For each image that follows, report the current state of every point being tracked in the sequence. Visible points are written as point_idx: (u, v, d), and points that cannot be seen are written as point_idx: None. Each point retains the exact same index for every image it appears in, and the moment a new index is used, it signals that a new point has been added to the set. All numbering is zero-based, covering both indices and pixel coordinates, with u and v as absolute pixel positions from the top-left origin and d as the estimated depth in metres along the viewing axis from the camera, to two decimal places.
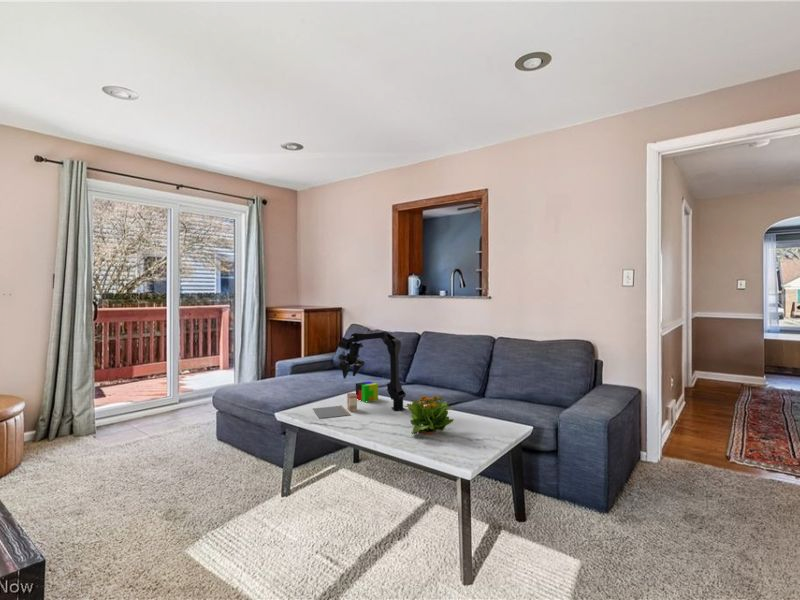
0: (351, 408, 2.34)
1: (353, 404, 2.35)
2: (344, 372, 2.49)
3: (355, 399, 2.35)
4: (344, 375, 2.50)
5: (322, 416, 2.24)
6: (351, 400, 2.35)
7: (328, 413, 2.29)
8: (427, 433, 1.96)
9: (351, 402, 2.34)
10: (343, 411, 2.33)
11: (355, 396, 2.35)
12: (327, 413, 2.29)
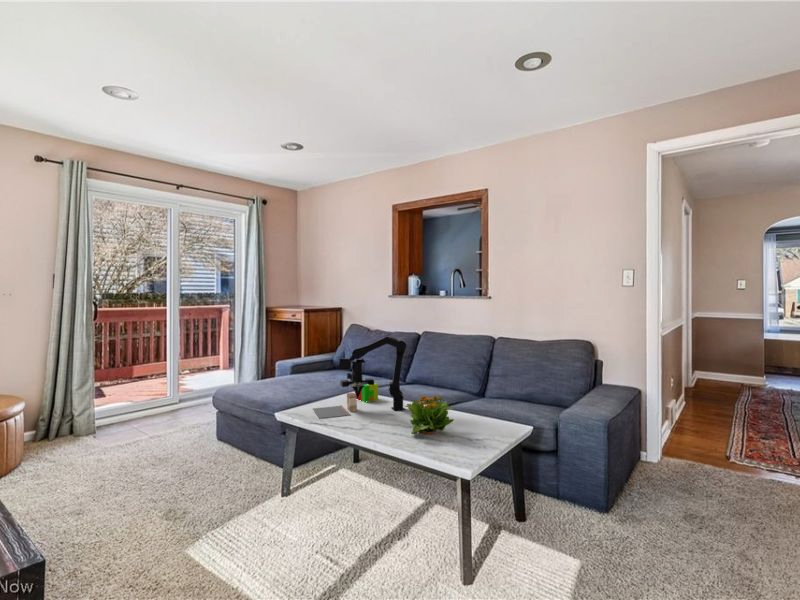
0: (351, 408, 2.34)
1: (353, 404, 2.35)
2: (355, 390, 2.38)
3: (355, 399, 2.35)
4: None
5: (322, 416, 2.24)
6: (351, 400, 2.34)
7: (328, 413, 2.29)
8: (427, 433, 1.96)
9: (351, 402, 2.34)
10: (343, 411, 2.33)
11: (355, 396, 2.35)
12: (327, 413, 2.29)
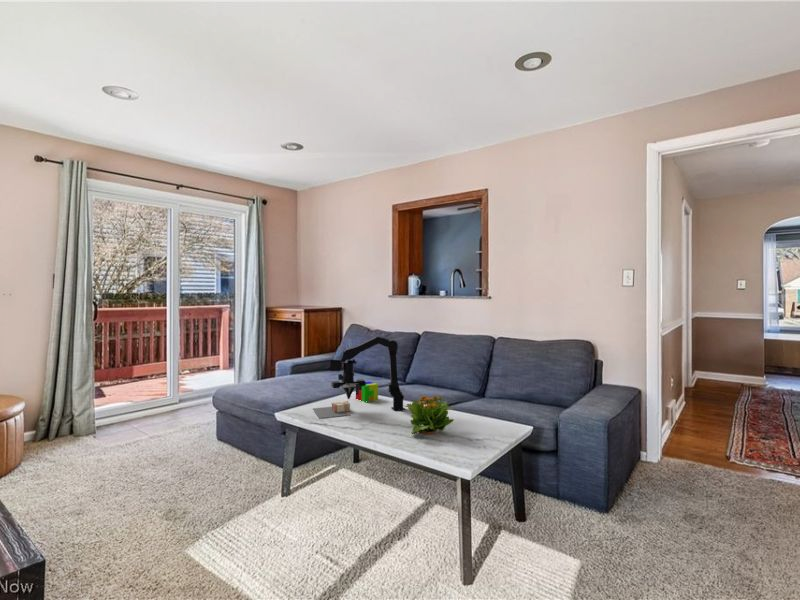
0: (347, 409, 2.34)
1: (343, 407, 2.33)
2: (346, 392, 2.36)
3: (338, 406, 2.32)
4: None
5: (322, 416, 2.24)
6: (338, 410, 2.32)
7: (328, 413, 2.29)
8: (427, 433, 1.96)
9: (341, 410, 2.32)
10: (343, 411, 2.33)
11: (335, 406, 2.31)
12: (327, 413, 2.29)
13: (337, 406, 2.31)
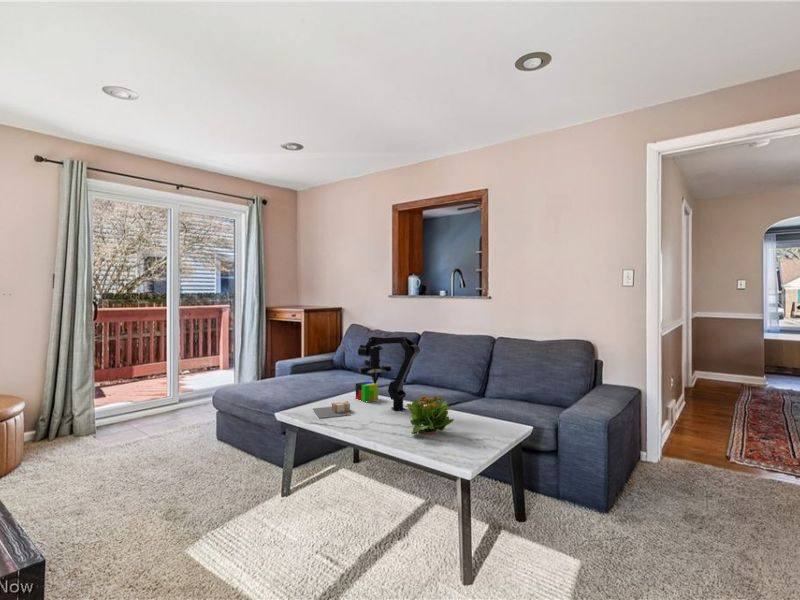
0: (347, 409, 2.34)
1: (343, 407, 2.33)
2: (372, 377, 2.46)
3: (338, 406, 2.32)
4: (373, 380, 2.46)
5: (322, 416, 2.24)
6: (338, 410, 2.32)
7: (328, 413, 2.29)
8: (427, 433, 1.96)
9: (341, 410, 2.32)
10: (343, 411, 2.33)
11: (335, 406, 2.31)
12: (327, 413, 2.29)
13: (337, 406, 2.31)
